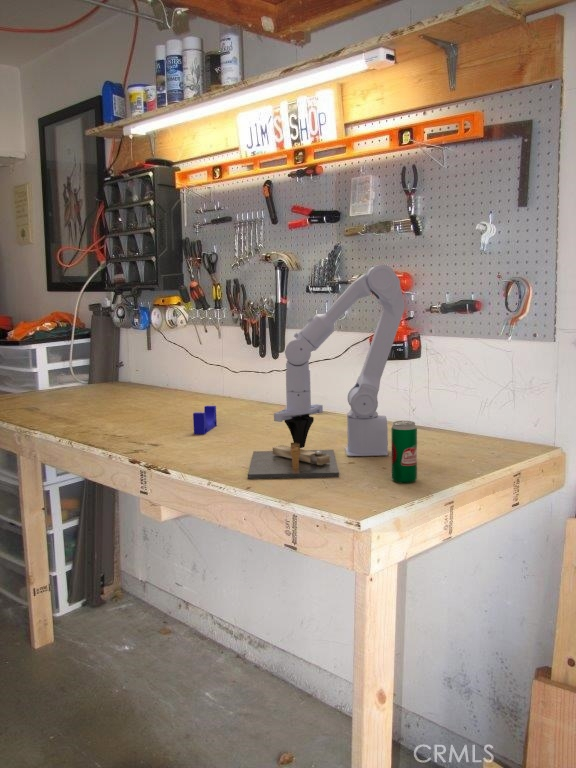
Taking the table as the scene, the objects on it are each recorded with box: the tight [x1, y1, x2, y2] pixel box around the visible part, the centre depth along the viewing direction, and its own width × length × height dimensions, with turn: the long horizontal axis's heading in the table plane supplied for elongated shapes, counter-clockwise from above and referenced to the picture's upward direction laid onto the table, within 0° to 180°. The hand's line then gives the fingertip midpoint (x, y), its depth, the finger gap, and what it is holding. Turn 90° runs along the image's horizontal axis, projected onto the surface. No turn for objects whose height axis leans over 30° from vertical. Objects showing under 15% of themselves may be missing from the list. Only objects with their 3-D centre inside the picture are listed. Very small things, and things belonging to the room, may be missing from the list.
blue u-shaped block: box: [192, 405, 218, 435], centre depth 193 cm, size 12×4×6 cm, turn 170°
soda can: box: [391, 420, 418, 484], centre depth 138 cm, size 5×5×12 cm
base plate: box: [247, 442, 340, 480], centre depth 152 cm, size 19×20×6 cm
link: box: [272, 444, 330, 465], centre depth 153 cm, size 15×4×2 cm, turn 44°
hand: (299, 447), depth 162 cm, fingers closed
